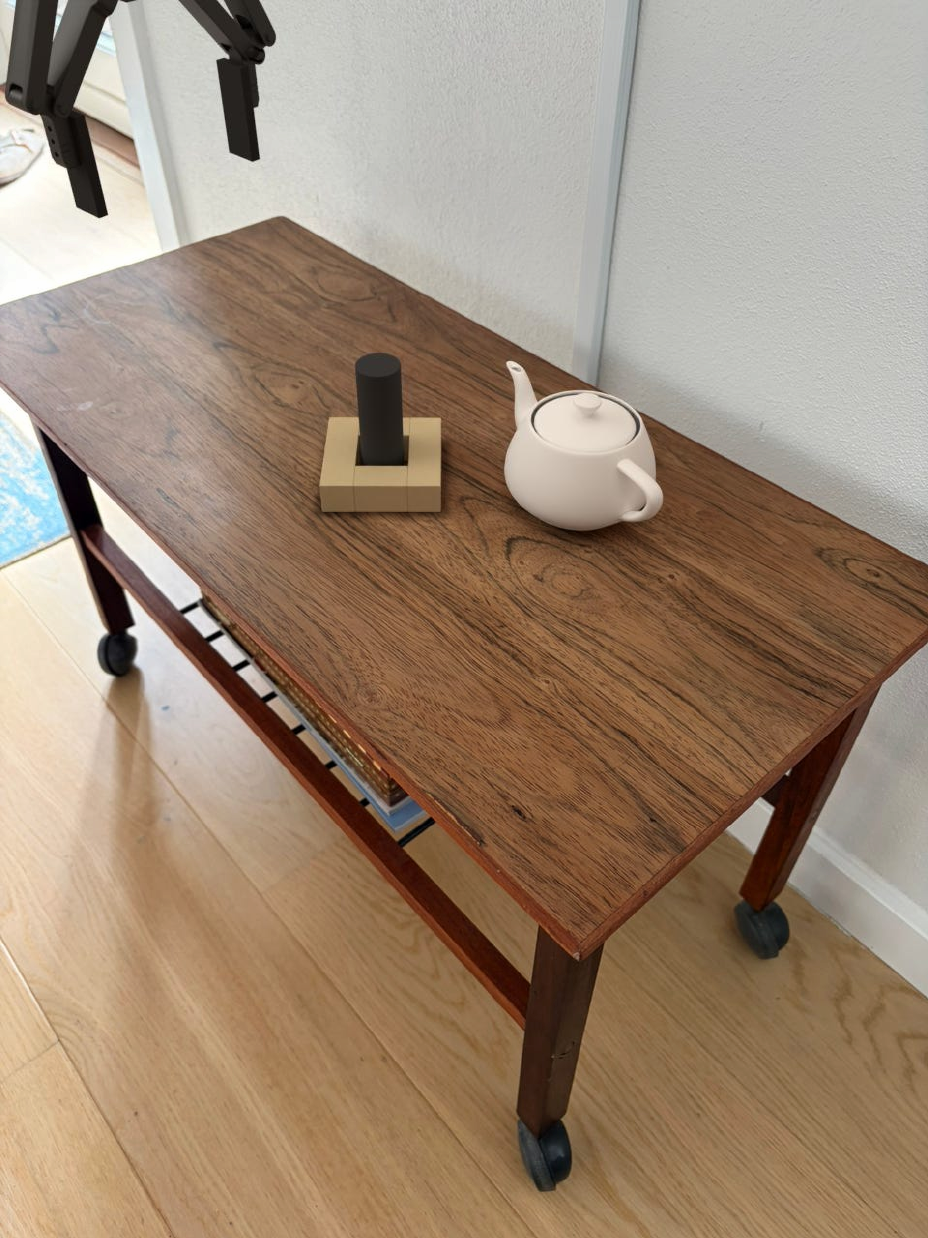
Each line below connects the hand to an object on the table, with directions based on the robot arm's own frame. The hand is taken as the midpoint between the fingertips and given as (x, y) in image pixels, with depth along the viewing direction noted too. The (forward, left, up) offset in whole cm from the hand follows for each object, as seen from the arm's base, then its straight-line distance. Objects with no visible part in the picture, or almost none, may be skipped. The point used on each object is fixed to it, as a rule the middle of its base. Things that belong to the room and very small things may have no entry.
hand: (172, 182), depth 74 cm
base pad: (+14, +3, -29) cm, 32 cm away
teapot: (+32, 0, -29) cm, 43 cm away
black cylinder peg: (+14, +3, -29) cm, 32 cm away
